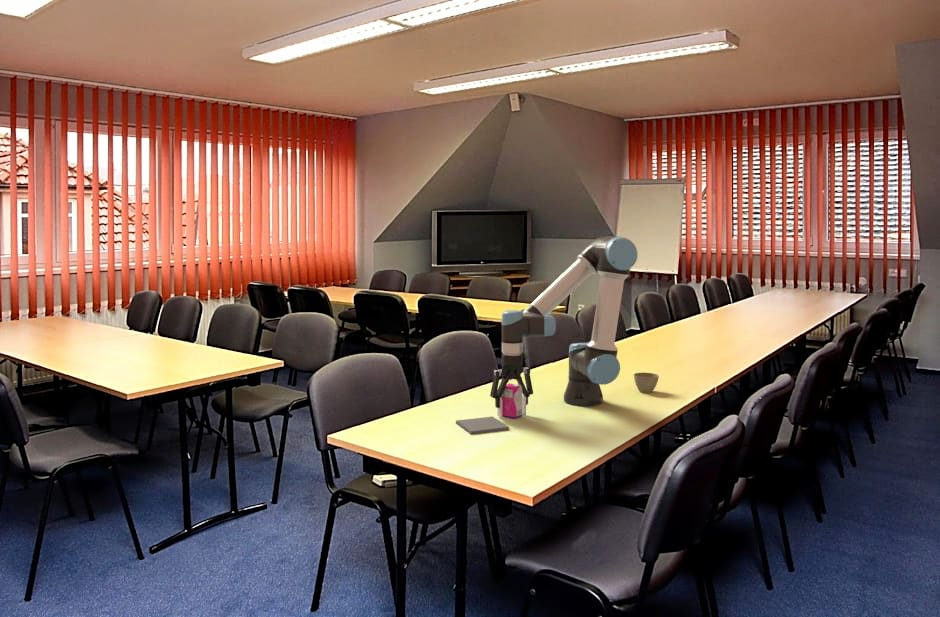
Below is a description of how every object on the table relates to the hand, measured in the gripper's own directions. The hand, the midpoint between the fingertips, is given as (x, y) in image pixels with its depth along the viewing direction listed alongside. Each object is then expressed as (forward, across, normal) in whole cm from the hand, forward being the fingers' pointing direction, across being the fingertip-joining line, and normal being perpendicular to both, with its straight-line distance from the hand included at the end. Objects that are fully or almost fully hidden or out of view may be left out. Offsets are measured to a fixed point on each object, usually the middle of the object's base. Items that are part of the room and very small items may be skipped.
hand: (511, 415), depth 266 cm
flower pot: (+1, -67, -13) cm, 68 cm away
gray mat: (0, +15, +8) cm, 17 cm away
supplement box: (+1, 0, 0) cm, 1 cm away
